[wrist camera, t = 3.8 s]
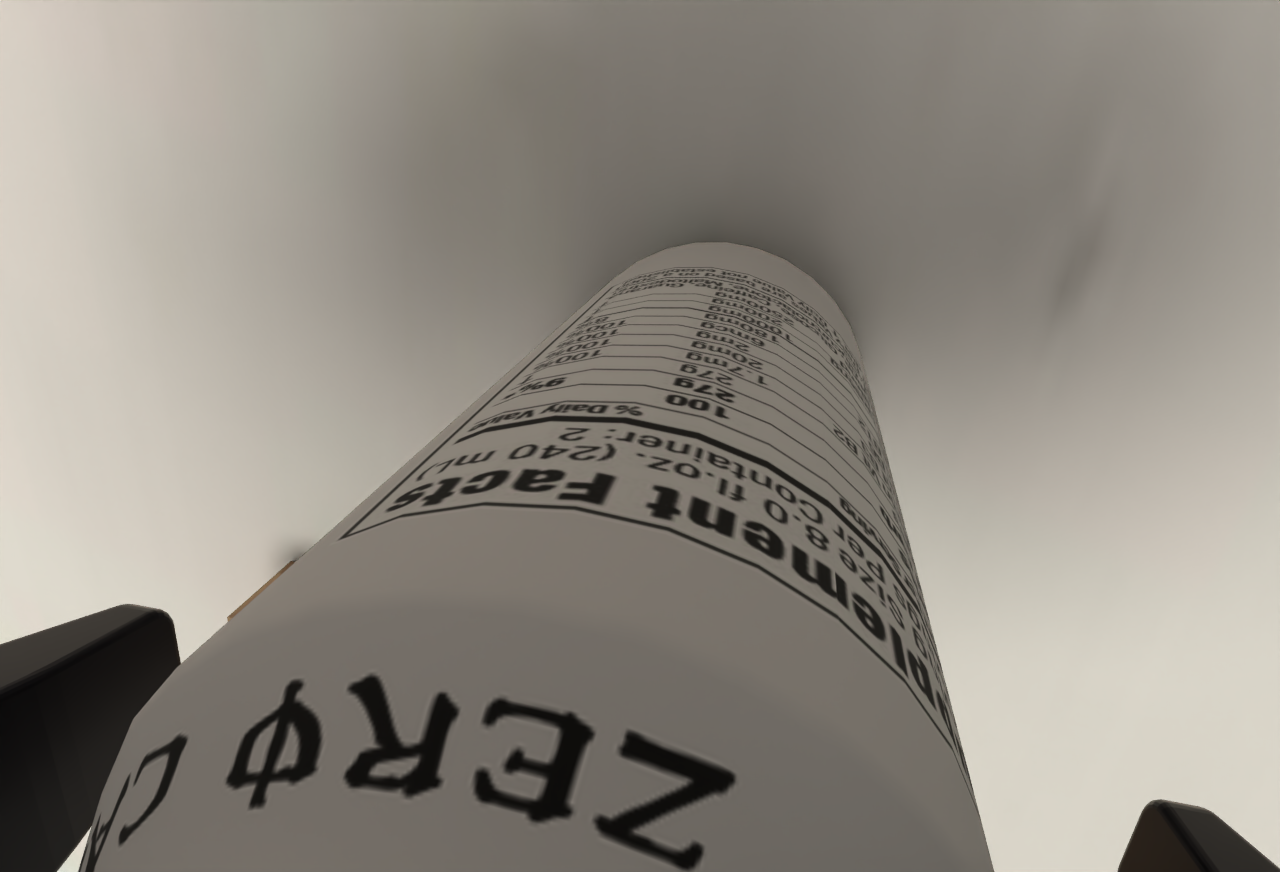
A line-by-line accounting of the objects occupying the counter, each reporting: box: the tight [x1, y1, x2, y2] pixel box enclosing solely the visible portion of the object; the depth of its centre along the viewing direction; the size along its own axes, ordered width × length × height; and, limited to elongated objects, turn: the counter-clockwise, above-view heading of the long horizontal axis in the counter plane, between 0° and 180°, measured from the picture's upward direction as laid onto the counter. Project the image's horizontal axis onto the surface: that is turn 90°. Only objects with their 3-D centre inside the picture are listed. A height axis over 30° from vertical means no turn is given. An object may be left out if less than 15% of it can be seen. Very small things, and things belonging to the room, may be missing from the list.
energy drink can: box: [78, 242, 994, 872], centre depth 11 cm, size 6×6×15 cm
